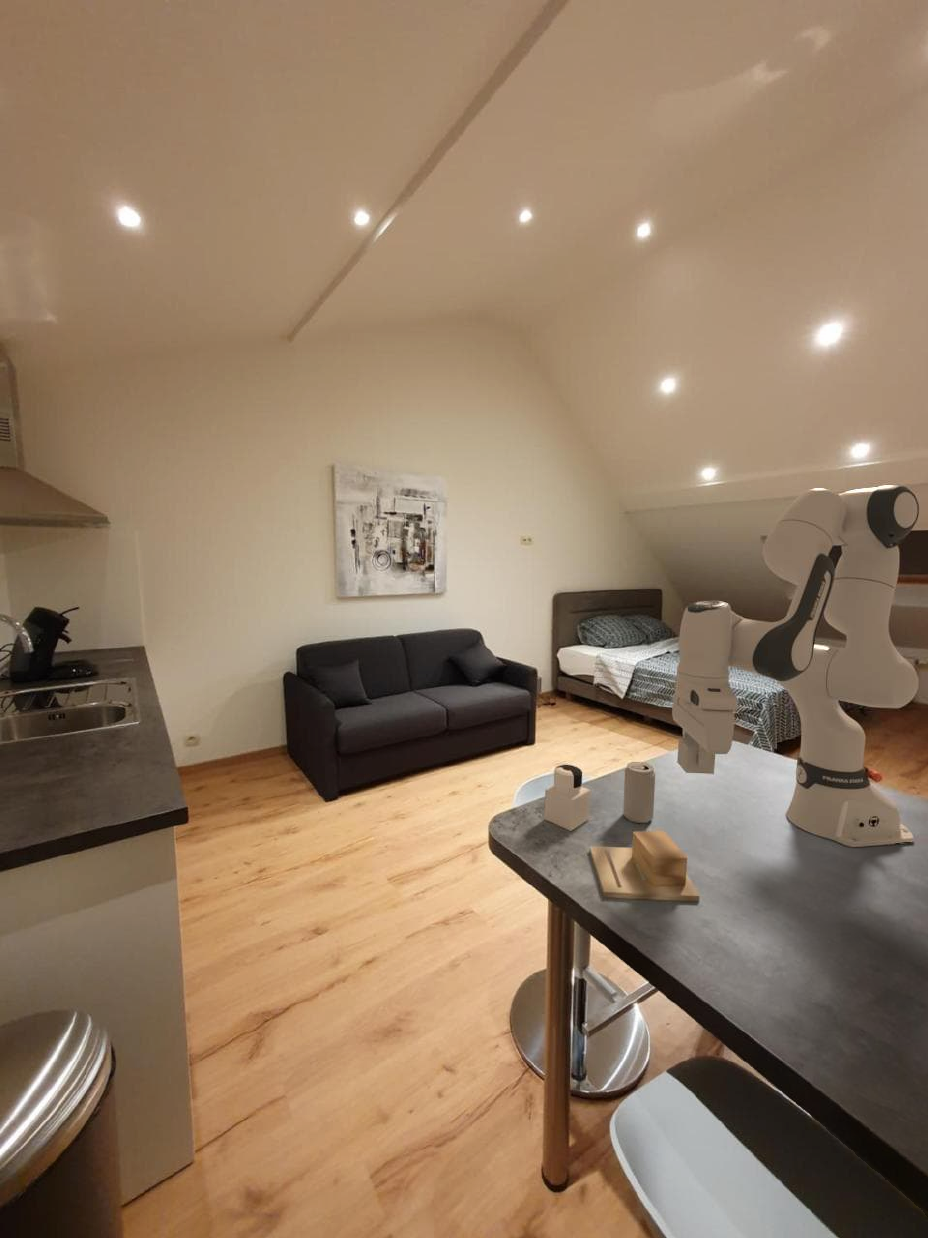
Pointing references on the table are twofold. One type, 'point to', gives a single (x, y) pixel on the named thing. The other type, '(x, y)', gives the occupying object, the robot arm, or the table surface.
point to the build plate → (633, 878)
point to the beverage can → (639, 792)
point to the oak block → (659, 858)
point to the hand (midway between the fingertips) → (695, 759)
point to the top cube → (692, 757)
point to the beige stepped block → (567, 798)
